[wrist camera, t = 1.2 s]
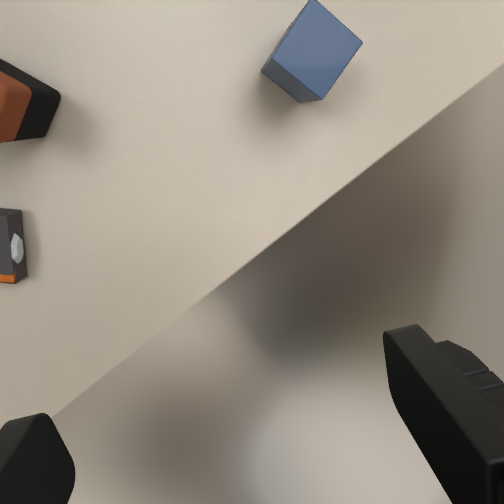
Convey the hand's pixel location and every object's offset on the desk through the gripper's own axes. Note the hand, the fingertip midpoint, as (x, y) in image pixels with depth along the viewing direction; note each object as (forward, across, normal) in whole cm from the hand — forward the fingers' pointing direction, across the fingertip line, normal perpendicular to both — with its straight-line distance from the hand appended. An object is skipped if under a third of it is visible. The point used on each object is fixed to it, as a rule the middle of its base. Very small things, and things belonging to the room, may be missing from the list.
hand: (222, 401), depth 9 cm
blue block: (+29, -9, -9) cm, 32 cm away
